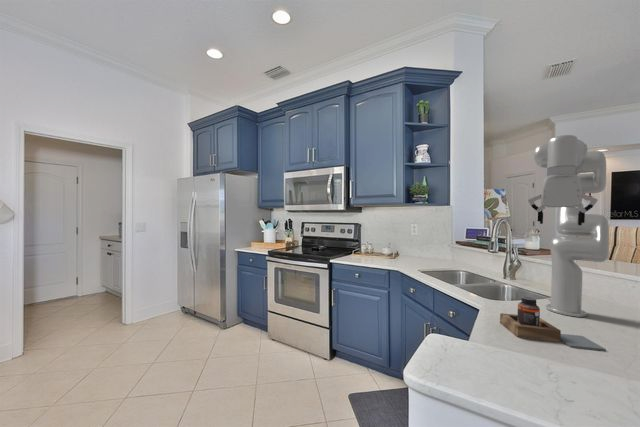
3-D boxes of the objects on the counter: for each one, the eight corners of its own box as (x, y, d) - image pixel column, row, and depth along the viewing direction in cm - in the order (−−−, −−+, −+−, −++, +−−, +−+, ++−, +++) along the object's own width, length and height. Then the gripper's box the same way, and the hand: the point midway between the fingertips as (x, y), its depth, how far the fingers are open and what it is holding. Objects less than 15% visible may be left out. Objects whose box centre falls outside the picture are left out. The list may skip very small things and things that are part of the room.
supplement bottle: (543, 336, 88) (544, 301, 88) (522, 334, 90) (523, 299, 90) (532, 329, 94) (533, 296, 94) (513, 327, 95) (514, 294, 95)
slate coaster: (550, 334, 90) (550, 332, 90) (582, 337, 88) (582, 335, 88) (570, 347, 81) (570, 345, 81) (605, 351, 80) (605, 349, 80)
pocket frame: (499, 322, 99) (500, 313, 99) (537, 326, 97) (537, 316, 97) (517, 337, 87) (517, 326, 87) (560, 341, 85) (560, 330, 85)
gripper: (596, 173, 89) (595, 226, 88) (529, 176, 100) (528, 223, 100) (599, 169, 83) (598, 225, 83) (528, 173, 94) (526, 223, 94)
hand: (559, 224), depth 91 cm, fingers open, 9 cm apart
